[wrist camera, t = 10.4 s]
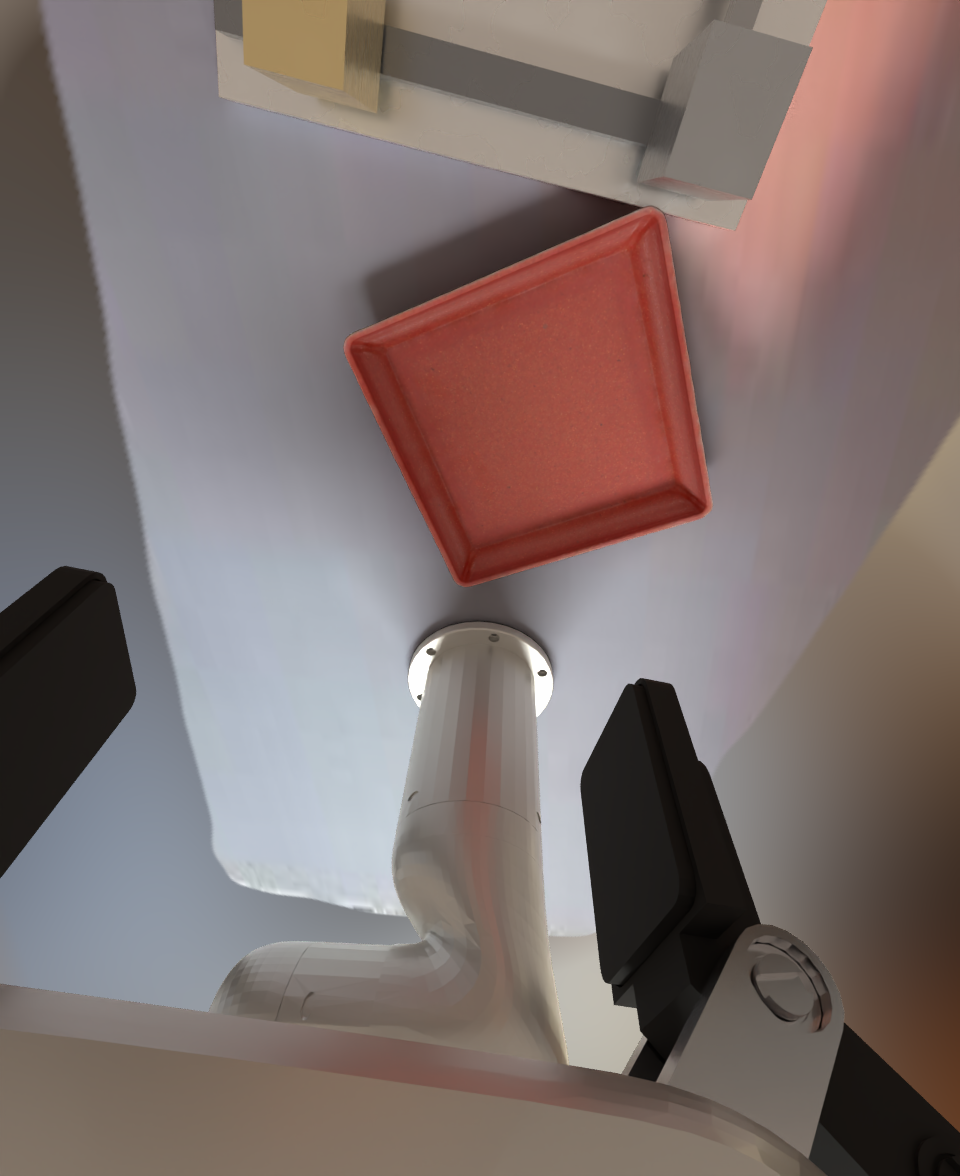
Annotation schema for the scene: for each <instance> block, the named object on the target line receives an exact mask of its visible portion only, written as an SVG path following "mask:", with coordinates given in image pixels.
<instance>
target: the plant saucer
mask: <svg viewBox="0 0 960 1176" xmlns="http://www.w3.org/2000/svg"><path fill="white" fill-rule="evenodd" d="M343 348H344V353H345V356H346V358H347V360H348V362H349V364H350V366H351V368H352V370H353V372H354V374H355V376H356V379H357V381H358V383H359V385H360V387H361V390H362V392H363V394H364V396H365V398H366V400H367V402H368V404H369V406H370V408H371V410H372V412H373V415H374V417H375V419H376V421H377V423H378V425H379V427H380V429H381V431H382V433H383V435H384V437H385V439H386V442H387V444H388V446H389V448H390V450H391V452H392V455H393V457H394V459H395V461H396V462H397V464H398V466H399V468H400V470H401V472H402V475H403V477H404V479H405V480H406V482H407V485H408V487H409V489H410V491H411V493H412V495H413V497H414V499H415V501H416V503H417V506H418V508H419V509H420V511H421V513H422V515H423V517H424V519H425V522H426V524H427V526H428V528H429V530H430V532H431V533H432V536H433V538H434V540H435V543H436V545H437V546H438V548H439V550H440V552H441V554H442V557H443V558H444V561H445V563H446V565H447V567H448V569H449V571H450V573H451V575H452V577H453V579H454V581H455V582H456V584H458V585H460V586H463V587H470V586H474V585H478V584H481V583H484V582H487V581H491V580H494V579H498V578H501V577H504V576H508V575H511V574H514V573H518V572H521V571H524V570H528V569H531V568H534V567H538V566H542V565H545V564H549V563H552V562H555V561H559V560H562V559H565V558H569V557H573V556H576V555H579V554H582V553H586V552H589V551H592V550H597V549H600V548H603V547H606V546H609V545H613V544H617V543H620V542H623V541H626V540H630V539H633V538H637V537H641V536H644V535H647V534H650V533H654V532H658V531H661V530H664V529H668V528H671V527H675V526H678V525H682V524H685V523H689V522H692V521H695V520H698V519H701V518H703V517H705V516H706V515H707V514H708V513H709V512H710V511H711V510H712V507H713V503H712V495H711V491H710V485H709V477H708V470H707V466H706V460H705V453H704V447H703V442H702V436H701V428H700V422H699V416H698V413H697V406H696V400H695V391H694V387H693V382H692V376H691V366H690V360H689V355H688V350H687V344H686V338H685V332H684V326H683V320H682V314H681V305H680V300H679V296H678V289H677V282H676V276H675V268H674V264H673V258H672V250H671V244H670V239H669V233H668V227H667V222H666V218H665V215H664V213H663V211H661V210H660V209H659V208H657V207H654V206H652V205H650V206H646V207H643V208H641V209H638V210H636V211H634V212H632V213H630V214H627V215H625V216H623V217H620V218H618V219H616V220H613V221H611V222H609V223H607V224H604V225H602V226H599V227H597V228H595V229H593V230H591V231H588V232H586V233H584V234H582V235H579V236H577V237H574V238H572V239H570V240H567V241H565V242H563V243H560V244H558V245H556V246H554V247H551V248H549V249H547V250H544V251H542V252H540V253H538V254H535V255H533V256H531V257H528V258H526V259H524V260H521V261H519V262H516V263H514V264H512V265H510V266H508V267H505V268H503V269H500V270H498V271H496V272H494V273H492V274H490V275H487V276H485V277H482V278H480V279H477V280H475V281H473V282H471V283H468V284H466V285H463V286H461V287H459V288H457V289H455V290H453V291H450V292H448V293H445V294H443V295H441V296H438V297H436V298H434V299H431V300H429V301H427V302H425V303H422V304H420V305H418V306H415V307H413V308H410V309H408V310H406V311H404V312H401V313H399V314H396V315H394V316H392V317H389V318H387V319H385V320H382V321H380V322H378V323H376V324H373V325H371V326H369V327H366V328H363V329H361V330H358V331H356V332H354V333H352V334H350V335H349V336H348V337H347V338H346V339H345V342H344V346H343Z"/></svg>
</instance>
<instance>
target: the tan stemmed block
mask: <svg viewBox="0 0 960 1176" xmlns="http://www.w3.org/2000/svg"><path fill="white" fill-rule="evenodd" d="M385 3H386V0H242V17H243V53H244V65H246V66H248V67H250V68H252V69H254V70H256V71H258V72H259V73H261V74H263V75H265V76H267V77H269V78H271V79H273V80H275V81H277V82H278V83H280V84H282V85H284V86H286V87H288V88H290V89H292V90H294V91H296V92H297V93H301V94H305V95H309V96H312V97H316V98H320V99H324V100H328V101H331V102H335V103H339V104H343V105H347V106H350V107H354V108H358V109H362V110H366V111H369V112H373V113H377V106H378V93H379V80H380V67H381V54H382V42H383V29H384V16H385Z"/></svg>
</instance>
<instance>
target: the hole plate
mask: <svg viewBox="0 0 960 1176" xmlns="http://www.w3.org/2000/svg"><path fill="white" fill-rule="evenodd" d="M826 2H827V0H386V3H385V16H384V29H383V42H382V54H381V67H380V80H379V93H378V106H377V113H373V112H369V111H366V110H362V109H358V108H354V107H350V106H347V105H343V104H339V103H335V102H331V101H328V100H324V99H320V98H316V97H312V96H309V95H305V94H301V93H297V92H296V91H294V90H292V89H290V88H288V87H286V86H284V85H282V84H280V83H278V82H277V81H275V80H273V79H271V78H269V77H267V76H265V75H263V74H261V73H259V72H258V71H256V70H254V69H252V68H250V67H248V66H246V65H244V53H243V17H242V0H214V14H215V30H216V45H217V66H218V87H219V97H221V98H224V99H226V100H229V101H232V102H236V103H239V104H243V105H247V106H251V107H255V108H259V109H262V110H266V111H270V112H274V113H278V114H282V115H286V116H289V117H293V118H297V119H301V120H305V121H309V122H313V123H316V124H320V125H324V126H328V127H332V128H336V129H340V130H343V131H347V132H351V133H355V134H359V135H363V136H367V137H370V138H374V139H378V140H382V141H386V142H390V143H394V144H397V145H401V146H405V147H409V148H413V149H417V150H421V151H424V152H428V153H432V154H436V155H440V156H444V157H448V158H451V159H455V160H459V161H463V162H467V163H471V164H474V165H478V166H482V167H486V168H490V169H494V170H498V171H501V172H505V173H509V174H513V175H517V176H521V177H525V178H528V179H532V180H536V181H540V182H544V183H548V184H552V185H555V186H559V187H563V188H567V189H571V190H575V191H579V192H582V193H586V194H590V195H594V196H598V197H602V198H606V199H609V200H613V201H617V202H621V203H625V204H629V205H633V206H636V207H640V208H643V207H646V206H650V205H652V206H654V207H657V208H659V209H660V210H661V211H663V213H664V214H667V215H671V216H675V217H679V218H683V219H686V220H690V221H694V222H698V223H702V224H706V225H710V226H713V227H717V228H721V229H725V230H733V231H735V230H736V228H737V225H738V223H739V220H740V218H741V215H742V213H743V210H744V208H745V205H746V202H747V200H752V198H753V195H754V193H755V190H756V188H757V185H758V183H759V180H760V178H761V175H762V173H763V170H764V168H765V165H766V163H767V160H768V158H769V155H770V153H771V150H772V148H773V145H774V143H775V140H776V138H777V135H778V133H779V130H780V128H781V126H782V123H783V121H784V118H785V116H786V113H787V111H788V108H789V106H790V103H791V101H792V98H793V96H794V93H795V91H796V88H797V86H798V83H799V81H800V78H801V76H802V73H803V71H804V68H805V66H806V63H807V61H808V58H809V56H810V53H811V51H812V48H813V47H809V45H810V42H811V40H812V37H813V35H814V32H815V30H816V27H817V25H818V22H819V19H820V17H821V14H822V12H823V9H824V7H825V4H826Z"/></svg>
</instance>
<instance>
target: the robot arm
mask: <svg viewBox="0 0 960 1176" xmlns="http://www.w3.org/2000/svg"><path fill="white" fill-rule="evenodd" d="M408 685H409V689H410V692H411V695H412V697H413V699H414V700H415V702H416V703H417V705H418V706H419V707H420V709H419V715H418V720H417V725H416V730H415V735H414V741H413V746H412V751H411V756H410V761H409V767H408V772H407V777H406V782H405V787H404V793H403V798H402V803H401V808H400V814H399V819H398V824H397V829H396V835H395V840H394V846H393V852H392V875H393V881H394V886H395V890H396V892H397V895H398V898H399V900H400V903H401V905H402V907H403V909H404V911H405V913H406V915H407V916H408V918H409V920H410V921H411V923H412V925H413V926H414V928H415V930H416V931H417V933H418V935H419V936H420V938H421V940H422V941H421V942H419V943H415V944H393V945H373V944H353V943H333V942H309V941H286V942H278V943H273V944H269V945H265V946H263V947H260V948H258V949H256V950H254V951H252V952H251V953H249V954H248V955H246V956H245V957H244V958H242V959H241V960H240V961H239V962H238V963H237V964H236V966H235V967H234V968H233V969H232V970H231V971H230V973H229V974H228V975H227V977H226V978H225V980H224V981H223V983H222V985H221V986H220V988H219V990H218V992H217V994H216V996H215V998H214V1000H213V1003H212V1005H211V1007H210V1010H209V1012H202V1011H195V1010H188V1009H181V1008H174V1007H166V1006H159V1005H152V1004H145V1003H137V1002H131V1001H123V1000H116V999H109V998H101V997H94V996H86V995H79V994H72V993H64V992H56V991H49V990H42V989H35V988H27V987H19V986H12V985H5V984H0V1176H960V1133H959V1132H958V1131H957V1130H956V1129H955V1128H954V1127H953V1126H952V1125H951V1124H950V1123H949V1122H948V1121H947V1120H946V1119H945V1118H944V1117H942V1115H941V1114H940V1113H938V1112H937V1111H936V1110H935V1109H934V1108H933V1107H932V1106H931V1105H930V1104H929V1103H928V1102H927V1101H926V1100H925V1099H924V1098H923V1097H922V1096H921V1095H920V1094H919V1093H918V1092H917V1091H915V1090H914V1089H913V1088H912V1087H911V1086H910V1085H909V1084H908V1083H907V1082H906V1081H905V1080H904V1079H903V1078H902V1077H901V1076H900V1075H899V1074H898V1073H896V1072H895V1071H894V1070H893V1069H892V1068H891V1067H890V1066H889V1065H888V1064H887V1063H886V1062H885V1061H884V1060H883V1059H882V1058H881V1057H880V1056H879V1055H878V1054H877V1053H876V1052H874V1051H873V1050H872V1049H871V1048H870V1047H869V1046H868V1045H867V1044H866V1043H865V1042H864V1041H863V1040H862V1039H861V1038H860V1037H859V1036H858V1035H857V1034H856V1033H855V1032H854V1031H853V1030H852V1029H851V1028H849V1027H848V1026H847V1025H846V1024H845V1023H844V1009H843V1005H842V1000H841V996H840V993H839V991H838V989H837V986H836V984H835V982H834V980H833V978H832V976H831V974H830V973H829V971H828V970H827V968H826V967H825V965H824V964H823V963H822V961H821V960H820V959H819V957H818V956H817V955H816V954H815V953H814V952H813V951H812V950H811V949H810V948H809V947H808V946H807V945H806V944H805V943H804V942H803V941H801V940H800V939H798V938H797V937H795V936H794V935H792V934H791V933H789V932H788V931H786V930H783V929H781V928H778V927H776V926H773V925H765V924H761V923H760V920H759V917H758V914H757V911H756V908H755V905H754V902H753V900H752V897H751V894H750V891H749V888H748V885H747V882H746V879H745V876H744V873H743V871H742V867H741V865H740V861H739V859H738V856H737V853H736V850H735V847H734V844H733V841H732V838H731V835H730V833H729V829H728V826H727V824H726V820H725V818H724V815H723V812H722V809H721V806H720V803H719V800H718V797H717V794H716V791H715V788H714V785H713V782H712V780H711V777H710V774H709V772H708V770H707V768H706V766H705V765H704V764H703V763H702V762H701V761H698V759H697V756H696V753H695V750H694V747H693V744H692V741H691V738H690V735H689V731H688V728H687V725H686V722H685V719H684V716H683V713H682V710H681V707H680V704H679V701H678V698H677V695H676V692H675V689H674V687H673V686H672V685H671V684H670V683H664V682H659V681H654V680H649V679H644V678H640V679H638V680H637V681H636V683H635V685H634V684H628V685H626V687H625V688H624V690H623V692H622V694H621V696H620V698H619V700H618V702H617V704H616V706H615V708H614V710H613V712H612V714H611V716H610V718H609V720H608V722H607V724H606V726H605V728H604V730H603V732H602V734H601V736H600V738H599V740H598V742H597V744H596V746H595V748H594V750H593V752H592V754H591V756H590V758H589V760H588V762H587V764H586V766H585V768H584V770H583V772H582V776H581V786H580V787H581V798H582V807H583V816H584V825H585V834H586V843H587V852H588V861H589V870H590V879H591V888H592V897H593V906H594V915H595V924H596V933H597V941H598V951H599V960H600V969H601V974H602V977H603V980H604V981H605V982H606V983H608V984H611V985H612V993H613V1001H614V1005H618V1006H625V1007H632V1008H637V1012H638V1019H639V1025H640V1031H641V1032H642V1033H643V1036H642V1038H641V1040H640V1041H639V1043H638V1045H637V1047H636V1049H635V1050H634V1052H633V1054H632V1056H631V1058H630V1060H629V1061H628V1063H627V1065H626V1067H625V1069H624V1070H623V1072H622V1074H618V1073H612V1072H606V1071H601V1070H595V1069H589V1068H582V1067H576V1066H570V1065H569V1060H568V1052H567V1046H566V1040H565V1035H564V1029H563V1024H562V1019H561V1013H560V1008H559V1002H558V997H557V991H556V985H555V980H554V974H553V968H552V962H551V954H550V947H549V939H548V930H547V920H546V910H545V895H544V880H543V858H542V837H541V812H540V788H539V763H538V739H537V716H538V715H539V714H540V713H541V712H542V711H543V710H544V709H545V708H546V706H547V704H548V702H549V701H550V699H551V695H552V692H553V673H552V666H551V664H550V661H549V659H548V657H547V655H546V654H545V652H544V651H543V650H542V648H541V647H540V646H539V645H538V644H537V643H536V642H535V641H534V640H532V639H531V638H530V637H528V636H526V635H525V634H523V633H522V632H520V631H517V630H515V629H513V628H510V627H508V626H504V625H500V624H496V623H488V622H466V623H460V624H456V625H451V626H448V627H446V628H443V629H441V630H439V631H437V632H435V633H434V634H432V635H430V636H429V637H427V638H426V639H425V640H424V641H423V642H422V643H421V644H420V645H419V646H418V648H417V650H416V651H415V653H414V654H413V657H412V660H411V663H410V667H409V672H408ZM135 696H136V686H135V682H134V677H133V672H132V667H131V663H130V658H129V653H128V649H127V644H126V639H125V634H124V629H123V625H122V620H121V615H120V610H119V606H118V601H117V596H116V592H115V588H114V586H113V585H112V584H110V583H107V581H106V578H105V576H104V575H103V574H101V573H98V572H94V571H89V570H84V569H78V568H73V567H68V566H63V567H59V568H58V569H56V570H55V571H53V572H52V573H50V574H49V575H48V576H47V577H45V578H44V579H43V580H42V581H40V582H39V583H38V584H36V585H35V586H34V587H33V588H31V589H30V590H29V591H28V592H26V593H25V594H24V595H22V596H21V597H20V598H19V599H17V600H16V601H15V602H14V603H12V604H11V605H10V606H8V607H7V608H6V609H5V610H3V611H2V612H1V613H0V878H1V877H2V876H3V874H4V873H5V872H6V870H7V869H8V868H9V866H10V865H11V864H12V863H13V861H14V860H15V859H16V857H17V856H18V855H19V853H20V852H21V851H22V850H23V848H24V847H25V846H26V844H27V843H28V842H29V840H30V839H31V838H32V836H33V835H34V834H35V833H36V831H37V830H38V829H39V827H40V826H41V825H42V824H43V822H44V821H45V820H46V818H47V817H48V816H49V814H50V813H51V812H52V811H53V809H54V808H55V807H56V805H57V804H58V803H59V801H60V800H61V799H62V798H63V796H64V795H65V794H66V792H67V791H68V790H69V788H70V787H71V786H72V784H73V783H74V781H76V779H77V778H78V777H79V775H80V774H81V773H82V771H83V770H84V769H85V767H86V766H87V765H88V764H89V762H90V761H91V760H92V758H93V757H94V756H95V755H96V753H97V752H98V751H99V749H100V748H101V747H102V745H103V744H104V743H105V742H106V740H107V739H108V738H109V736H110V735H111V733H112V732H113V731H114V730H115V729H116V727H117V726H118V725H119V723H120V722H121V720H122V719H123V718H124V717H125V716H126V714H127V713H128V712H129V710H130V709H131V707H132V705H133V703H134V700H135Z"/></svg>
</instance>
